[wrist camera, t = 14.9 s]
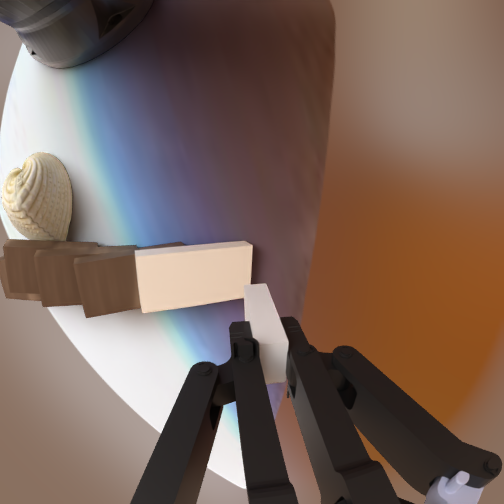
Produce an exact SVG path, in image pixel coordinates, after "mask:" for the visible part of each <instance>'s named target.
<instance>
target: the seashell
mask: <svg viewBox="0 0 504 504" xmlns="http://www.w3.org/2000/svg"><path fill="white" fill-rule="evenodd" d="M1 198H2V204H3V207H4V210H5V211H6V213H7V215H8V217H9V219H10V221H11V223H12V224H13V226H14V227H15V228H16V229H17V230H18V231H19V232H20V233H21V234H22V235H24V236H25V237H26V238H28V239H30V240H43V241H66V237H67V234H68V228H69V224H70V221H71V215H72V189H71V184H70V179H69V176H68V174H67V172H66V170H65V168H64V166H63V164H62V163H61V162H60V161H59V160H58V159H57V158H56V157H54V156H53V155H51V154H48V153H44V152H39V153H35V154H32V155H31V156H29V157H28V158H27V159H26V160H25V162H24V164H23V167H22V170H21V169H20V168H15V169H13V170H12V171H11V172H10V173H9V175H8V176H7V178H6V180H5V182H4V184H3V188H2V197H1Z"/></svg>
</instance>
